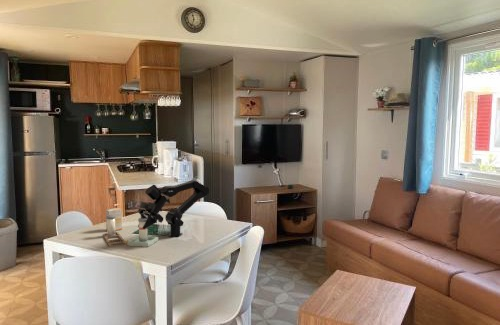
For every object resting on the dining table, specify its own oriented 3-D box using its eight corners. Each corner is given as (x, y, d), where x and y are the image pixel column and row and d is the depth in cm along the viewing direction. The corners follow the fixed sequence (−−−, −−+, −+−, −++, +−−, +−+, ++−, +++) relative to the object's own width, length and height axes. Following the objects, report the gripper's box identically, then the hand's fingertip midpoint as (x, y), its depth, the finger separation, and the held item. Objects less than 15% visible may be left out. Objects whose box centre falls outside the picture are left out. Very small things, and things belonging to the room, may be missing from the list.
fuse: (110, 234, 226) (109, 214, 225) (117, 235, 225) (117, 215, 224) (105, 237, 222) (104, 216, 221) (112, 237, 221) (112, 217, 220)
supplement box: (118, 228, 242) (118, 207, 241) (122, 229, 239) (121, 208, 237) (106, 230, 236) (105, 209, 235) (109, 231, 233) (108, 210, 232)
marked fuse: (139, 238, 212) (139, 217, 211) (148, 238, 213) (148, 217, 212) (138, 241, 208) (137, 219, 206) (147, 241, 208) (146, 219, 207)
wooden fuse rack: (102, 235, 225) (102, 233, 225) (121, 233, 230) (121, 231, 230) (109, 246, 204) (109, 244, 204) (129, 243, 209) (129, 241, 209)
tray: (138, 239, 217) (138, 235, 217) (158, 240, 215) (158, 237, 215) (127, 245, 206) (127, 241, 206) (148, 247, 203) (148, 243, 203)
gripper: (139, 194, 217) (122, 216, 210) (158, 198, 204) (140, 222, 198) (152, 205, 224) (135, 228, 217) (170, 210, 211) (153, 234, 204)
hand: (140, 227), depth 209 cm, fingers closed on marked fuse, 4 cm apart
